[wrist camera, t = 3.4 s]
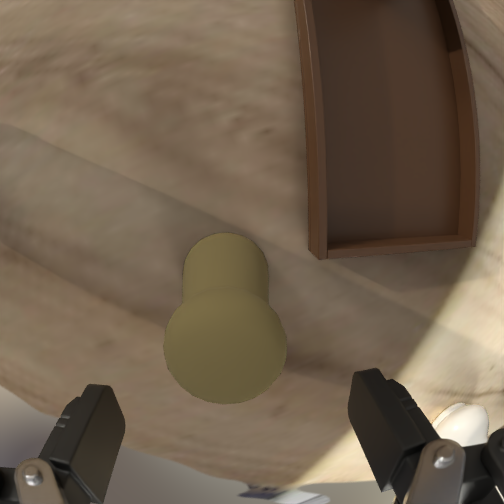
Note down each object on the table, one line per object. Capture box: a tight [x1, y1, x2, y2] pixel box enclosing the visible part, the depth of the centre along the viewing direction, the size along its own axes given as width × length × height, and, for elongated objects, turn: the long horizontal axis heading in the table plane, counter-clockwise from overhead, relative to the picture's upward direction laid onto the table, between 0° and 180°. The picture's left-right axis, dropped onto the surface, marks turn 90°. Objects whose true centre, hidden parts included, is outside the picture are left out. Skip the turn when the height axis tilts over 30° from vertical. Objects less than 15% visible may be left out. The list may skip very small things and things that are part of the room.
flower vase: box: [432, 403, 504, 501], centre depth 17 cm, size 13×18×25 cm
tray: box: [294, 0, 480, 260], centre depth 16 cm, size 14×34×2 cm, turn 3°
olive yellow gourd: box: [163, 233, 287, 404], centre depth 16 cm, size 6×6×11 cm
